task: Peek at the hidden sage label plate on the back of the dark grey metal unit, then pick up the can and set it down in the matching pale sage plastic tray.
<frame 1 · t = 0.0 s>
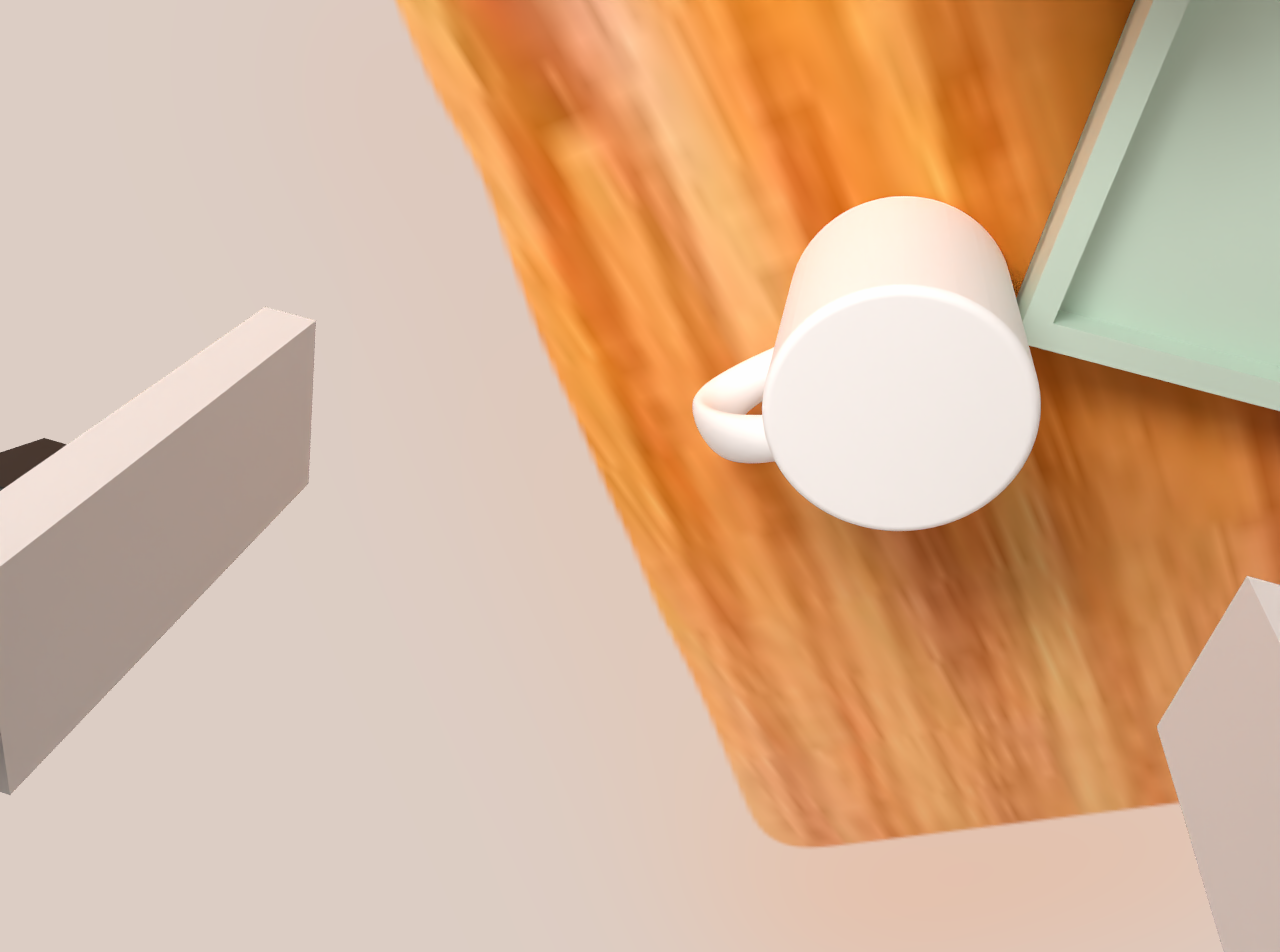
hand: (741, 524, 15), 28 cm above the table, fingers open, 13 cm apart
mug: (852, 318, 43), on the table
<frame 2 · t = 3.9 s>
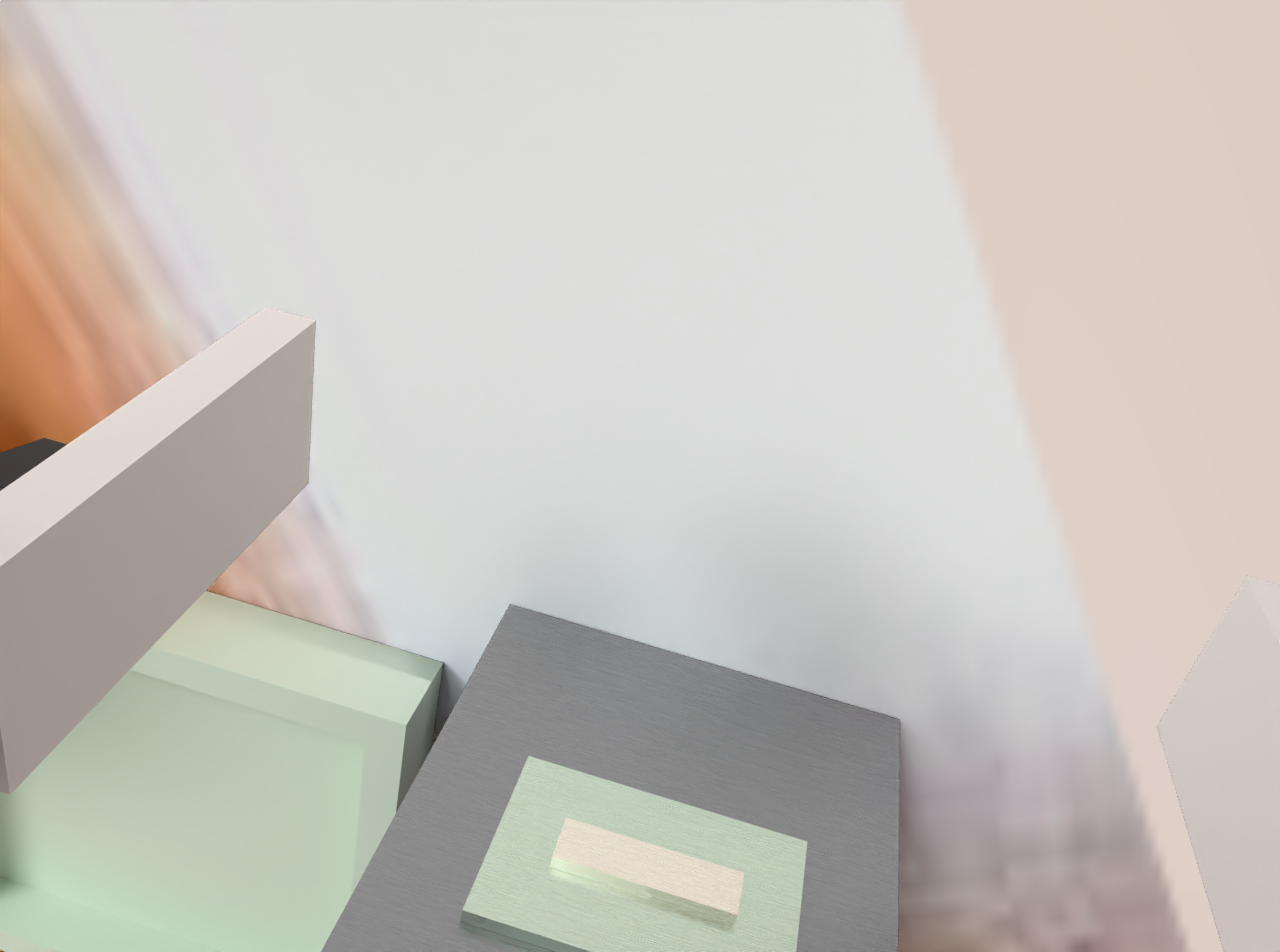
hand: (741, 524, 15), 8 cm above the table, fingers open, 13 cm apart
tray: (185, 778, 33), on the table
unit: (653, 826, 30), on the table
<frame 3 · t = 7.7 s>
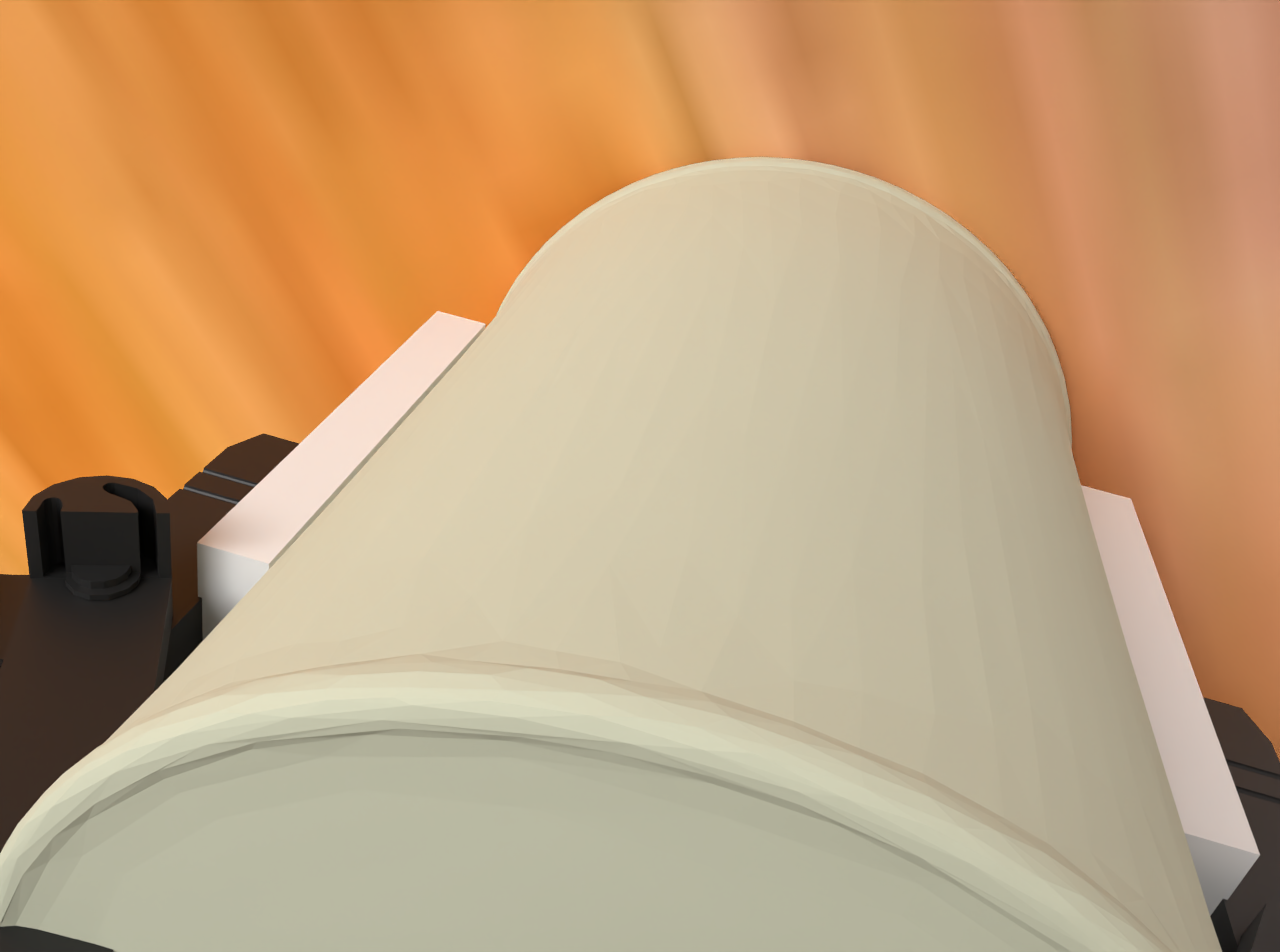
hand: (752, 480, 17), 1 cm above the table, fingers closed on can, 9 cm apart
can: (760, 444, 18), on the table, touching gripper
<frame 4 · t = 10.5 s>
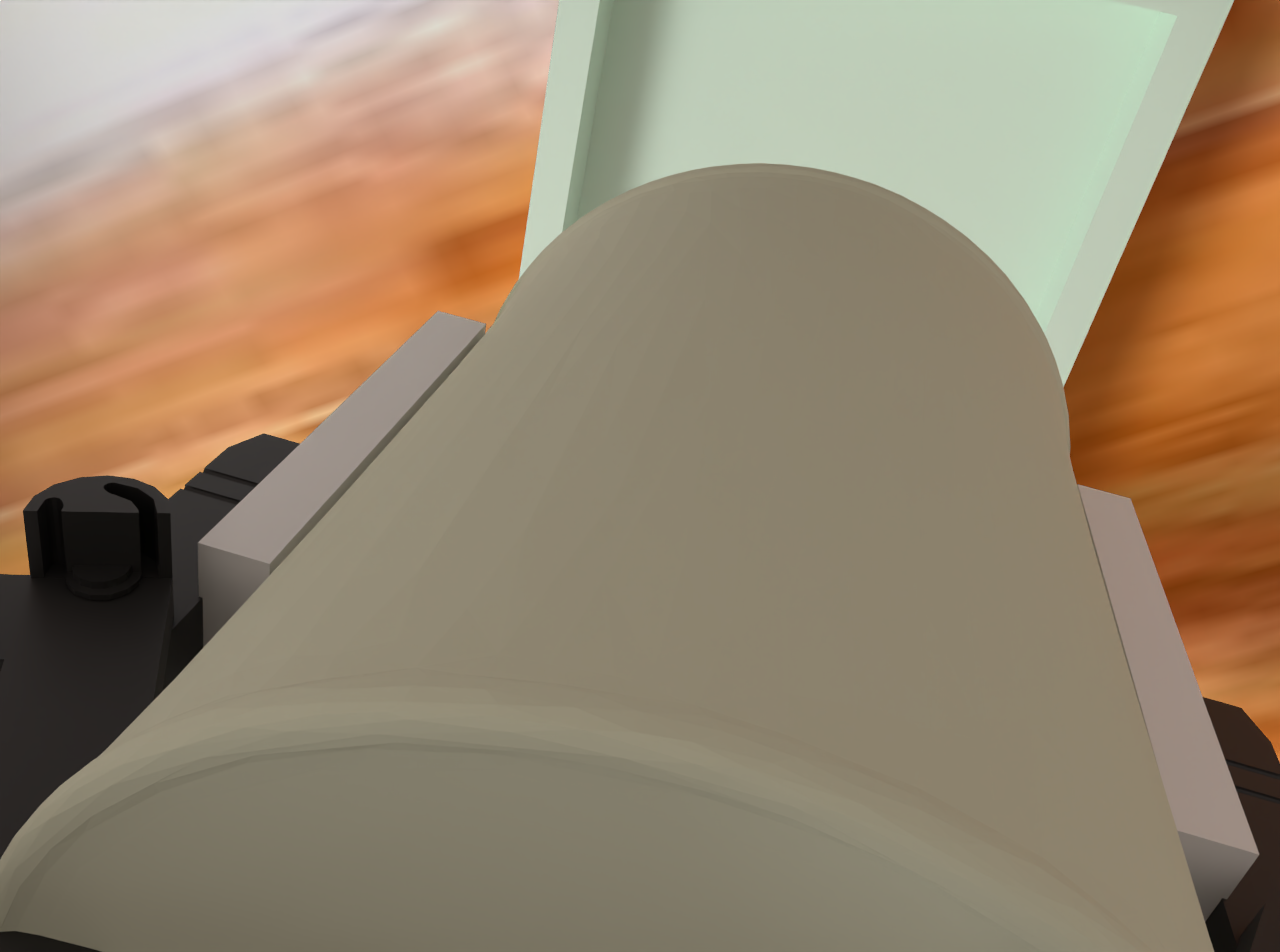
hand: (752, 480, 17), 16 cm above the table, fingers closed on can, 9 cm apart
tray: (820, 197, 30), on the table
can: (759, 450, 18), point 15 cm above the table, touching gripper
when the fingers open (4 cm above the table, at t = 13.1 s): can drops 2 cm, resting on tray.
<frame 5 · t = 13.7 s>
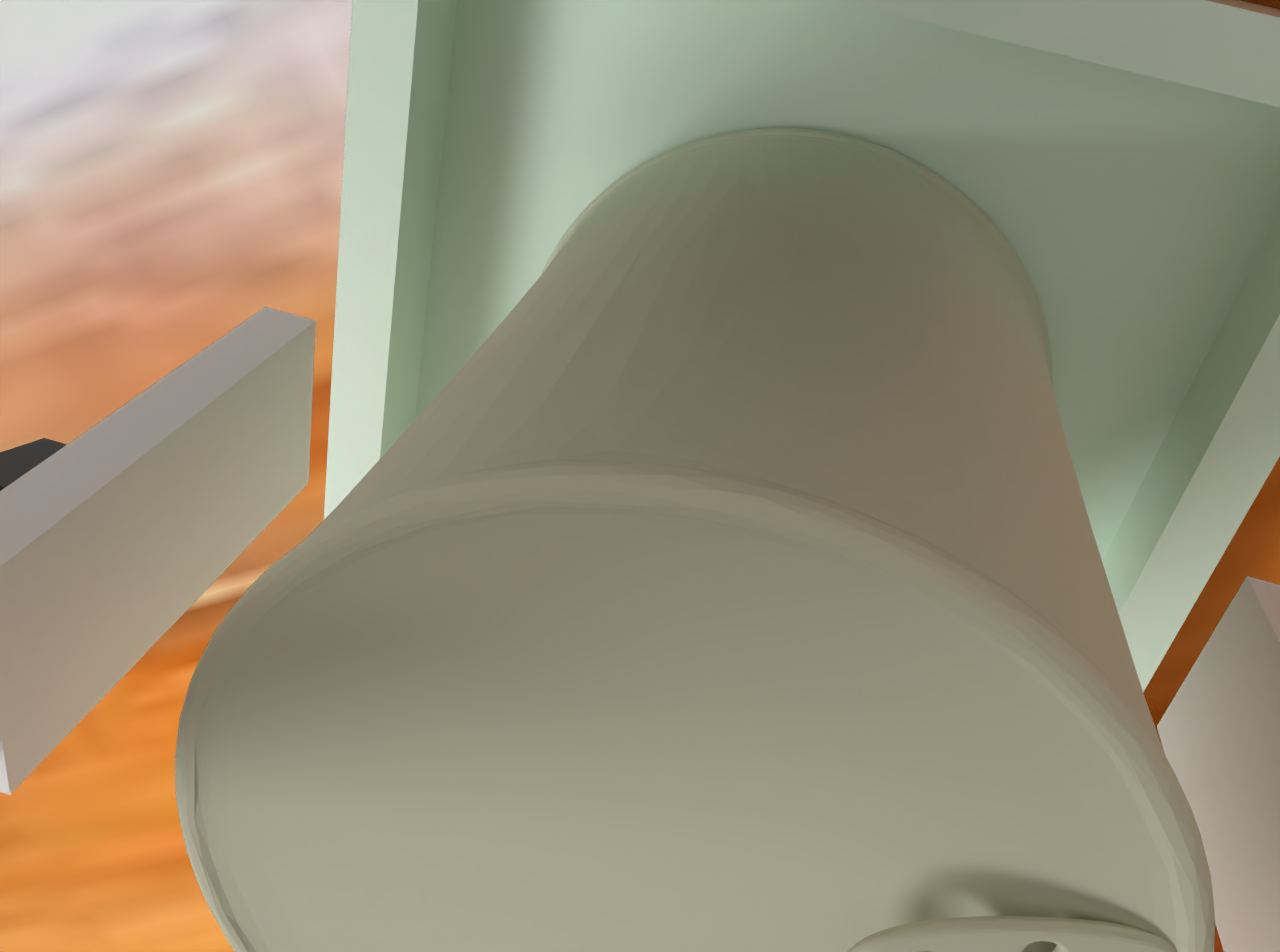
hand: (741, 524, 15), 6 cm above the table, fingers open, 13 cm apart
tray: (778, 370, 20), on the table
can: (776, 387, 20), point 1 cm above the table, touching tray
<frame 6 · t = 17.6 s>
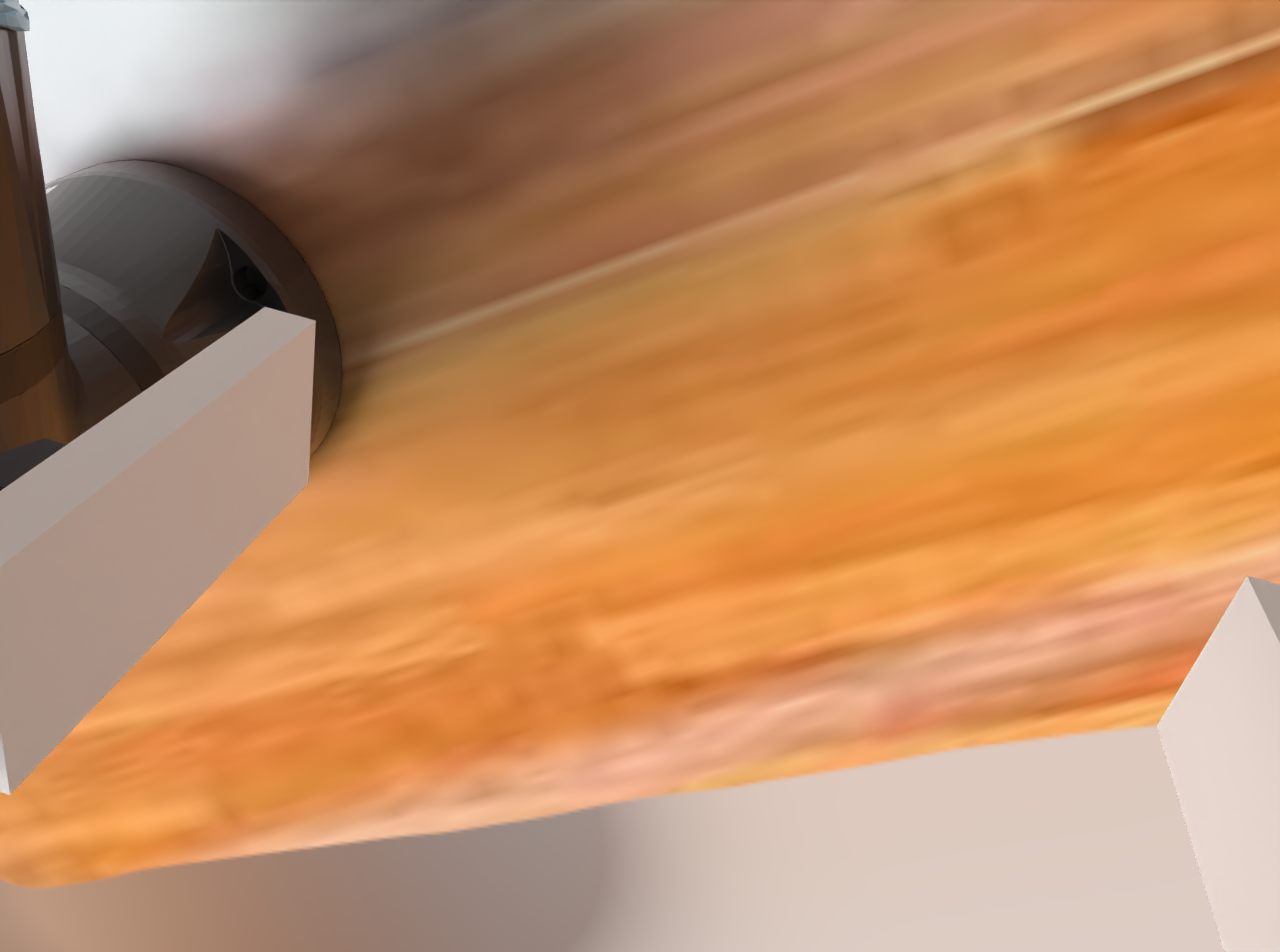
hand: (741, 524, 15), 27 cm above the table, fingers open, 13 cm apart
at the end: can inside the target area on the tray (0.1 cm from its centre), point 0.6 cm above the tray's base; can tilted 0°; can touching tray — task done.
